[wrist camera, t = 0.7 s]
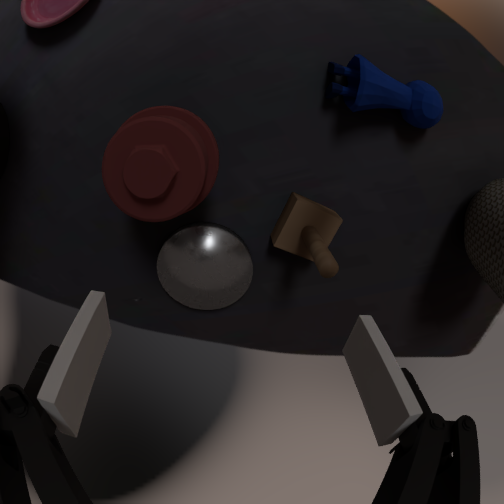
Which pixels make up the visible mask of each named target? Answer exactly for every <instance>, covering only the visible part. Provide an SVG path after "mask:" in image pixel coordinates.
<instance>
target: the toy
mask: <svg viewBox="0 0 504 504" xmlns="http://www.w3.org/2000/svg"><path fill="white" fill-rule="evenodd" d="M328 72H330V73H332V74H335V75H340V76H341V75H344V76H347V80H348V86H347V87H344V86H342V85H340V84H338V83H334V82H331V83H330V85H329V86H328V87H327V88H326V93H325V98H327V99H330V98H334V97H336V96H338V95H343V98H344V102H345V104H346V105H347V106H348V107H349V109H350V110H351V111H352V112H356V111H362V110H367V109H374V108H391V109H400V112H401V115H402V118H403V119H404V120H405V121H406V122H407V123H409V124H410V125H412V126H414V127H417V128H423V129H426V128H430V127H432V126H434V125H435V124H436V123H438V122H439V121H440V118H441V116H442V113H443V103H442V99H441V97H440V95H439V93H438V91H437V90H436V89H435V88H434V87H432V86H431V85H429V84H428V83H426V82H424V81H420V80H416V81H412V82H409V83H407V84H406V85H404V84H402V83H400V82H399V81H397V80H395V79H393V78H392V77H390V76H388V75H387V74H385V73H384V72H382V71H381V70H379V69H378V68H377V67H376V66H374V65H373V64H372V63H370V62H369V61H368V60H367V59H366V58H364V57H363V56H361V55H360V54H357V55H355V56H354V57H353V58H352V59H351V61H350V62H349V63H348V65H347V67H343V66H342V65H340V64H337V63H333V62H329V64H328Z"/></svg>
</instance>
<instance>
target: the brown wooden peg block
mask: <svg viewBox="0 0 504 504" xmlns="http://www.w3.org/2000/svg"><path fill="white" fill-rule="evenodd" d="M342 221H343V220H342V219H341V218H340V216H339V215H338V214H337V213H336V212H335V211H333V210H331V209H329V208H327V207H325V206H323V205H320V204H318V203H316V202H314V201H312V200H310V199H307V198H305V197H303V196H301V195H299V194H296V193H294V192H292V193H291V195H290V197H289V199H288V201H287V203H286V205H285V207H284V209H283V211H282V213H281V215H280V217H279V219H278V221H277V223H276V225H275V227H274V229H273V231H272V233H271V239H272V242H273V246H275V247H277V248H280V249H283V250H285V251H288V252H291V253H293V254H296V255H298V256H301V257H304V258H306V259H309V260H311V261H314V262H315V264H316V266H317V268H318V270H319V272H320V274H321V276H322V277H325V278H330V277H333V276H334V275H336V273H337V272H338V269H339V266H338V264H337V262H336V261H335V259H334V257H333V256H332V254H331V252H330V251H329V249H328V248H327V247H328V246H329V244H330V242H331V240H332V239H333V237H334V235H335V233H336V232H337V230H338V228H339V226H340V225H341V223H342Z"/></svg>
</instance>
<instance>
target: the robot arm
mask: <svg viewBox="0 0 504 504" xmlns="http://www.w3.org/2000/svg"><path fill="white" fill-rule="evenodd" d="M8 152H9V126H8V120H7V116H6V113H5V110H4V108H3V106H2V104H1V103H0V178H1V176H2V174H3V172H4V169H5V166H6V163H7V158H8ZM110 336H111V328H110V323H109V316H108V310H107V304H106V298H105V292H99V291H92V290H91V291H90V293H89V295H88V297H87V298H86V300H85V302H84V303H83V305H82V307H81V309H80V311H79V312H78V314H77V316H76V318H75V320H74V321H73V323H72V325H71V327H70V329H69V331H68V333H67V335H66V337H65V338H64V340H63V343H62V344H61V346H60V347H58V346H54V345H49V346H48V347H47V348H46V349H45V350H44V351H43V352H42V354H41V356H40V357H39V360H38V362H37V363H36V366H35V369H34V370H33V371H32V373H31V375H30V378H29V380H28V382H27V384H26V386H25V388H24V390H23V388H21V387H20V386H19V385H16V384H9V385H7V386H5V387H3V389H2V390H1V391H0V504H31V500H30V496H29V492H28V488H27V483H26V478H25V473H24V468H23V462H24V465H25V467H26V470H27V472H28V474H29V477H30V479H31V481H32V483H33V485H34V488H35V490H36V492H37V494H38V496H39V498H40V500H41V502H42V504H93V503H92V501H91V500H90V498H89V497H88V495H87V493H86V492H85V490H84V489H83V487H82V485H81V483H80V482H79V480H78V478H77V476H76V475H75V473H74V471H73V469H72V467H71V465H70V464H69V462H68V460H67V458H66V456H65V454H64V452H63V450H62V448H61V445H60V443H59V441H58V439H57V437H56V435H55V434H54V433H55V430H56V427H57V428H58V429H59V431H60V432H61V433H63V434H67V435H70V436H73V437H77V434H78V431H79V427H80V424H81V420H82V417H83V413H84V410H85V407H86V404H87V400H88V397H89V394H90V391H91V388H92V385H93V382H94V379H95V376H96V373H97V371H98V368H99V365H100V362H101V359H102V357H103V354H104V351H105V348H106V346H107V343H108V340H109V338H110ZM342 351H343V354H344V356H345V359H346V361H347V364H348V366H349V369H350V371H351V374H352V376H353V379H354V381H355V384H356V387H357V389H358V392H359V394H360V397H361V399H362V402H363V405H364V407H365V410H366V413H367V415H368V418H369V421H370V424H371V426H372V429H373V432H374V435H375V437H376V440H377V443H378V446H383V445H387V444H391V443H393V442H394V440H396V439H397V438H399V441H400V442H399V443H398V444H397V445H396V446H395V447H394V448H393V449H391V451H390V452H389V453H390V454H391V453H392V452H393V451H395V452H394V454H393V457H392V460H391V462H390V465H389V467H388V470H387V472H386V474H385V477H384V479H383V481H382V483H381V485H380V488H379V490H378V492H377V494H376V496H375V498H374V500H373V502H372V504H480V463H479V449H478V439H477V430H476V425H475V422H474V420H473V419H472V418H471V417H470V416H467V415H463V416H461V417H460V418H458V419H457V420H456V421H445V420H444V419H443V417H442V416H440V415H439V414H436V413H432V412H431V410H430V408H429V406H428V404H427V402H426V400H425V398H424V396H423V394H422V392H421V391H420V390H419V387H418V385H417V384H416V381H415V379H414V377H413V375H412V374H411V373H410V372H409V371H408V370H407V369H406V368H400V366H399V365H398V363H397V361H396V359H395V357H394V355H393V354H392V352H391V350H390V348H389V346H388V344H387V343H386V341H385V339H384V337H383V336H382V334H381V332H380V330H379V329H378V327H377V325H376V323H375V322H374V320H373V318H372V316H371V315H359V317H358V319H357V321H356V323H355V326H354V328H353V330H352V332H351V334H350V336H349V338H348V340H347V342H346V344H345V346H344V348H343V350H342ZM452 452H453V457H452V456H451V453H452ZM22 460H23V462H22Z"/></svg>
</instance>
